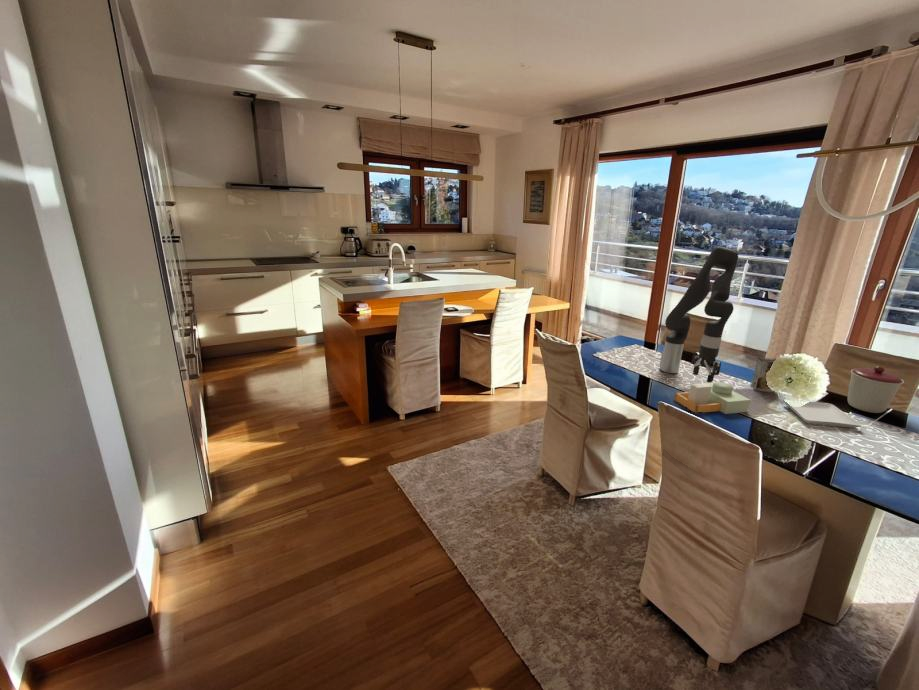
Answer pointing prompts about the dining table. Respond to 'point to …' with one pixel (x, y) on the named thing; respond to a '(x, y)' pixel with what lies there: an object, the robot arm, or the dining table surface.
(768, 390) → the coffee box
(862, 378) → the canister
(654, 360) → the dining table surface
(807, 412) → the salad plate
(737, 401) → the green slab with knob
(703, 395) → the white block
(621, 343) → the dining table surface
